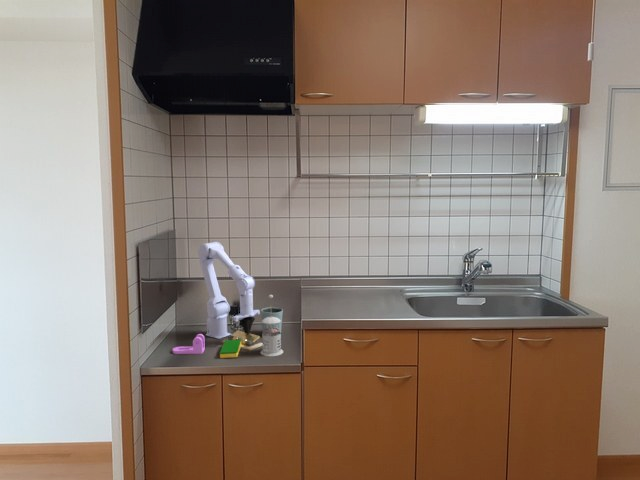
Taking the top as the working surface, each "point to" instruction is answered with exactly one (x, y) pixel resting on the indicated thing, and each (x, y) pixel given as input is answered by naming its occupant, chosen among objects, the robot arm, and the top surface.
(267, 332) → the french press
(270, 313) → the drinking glass
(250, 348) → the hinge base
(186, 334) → the top surface
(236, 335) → the strip
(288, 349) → the top surface
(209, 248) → the robot arm
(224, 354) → the dish sponge
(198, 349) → the bracket
